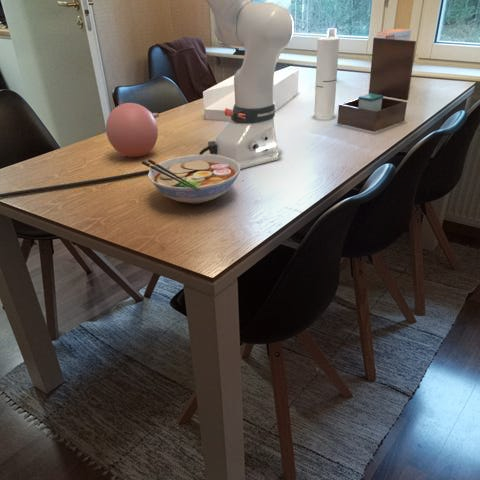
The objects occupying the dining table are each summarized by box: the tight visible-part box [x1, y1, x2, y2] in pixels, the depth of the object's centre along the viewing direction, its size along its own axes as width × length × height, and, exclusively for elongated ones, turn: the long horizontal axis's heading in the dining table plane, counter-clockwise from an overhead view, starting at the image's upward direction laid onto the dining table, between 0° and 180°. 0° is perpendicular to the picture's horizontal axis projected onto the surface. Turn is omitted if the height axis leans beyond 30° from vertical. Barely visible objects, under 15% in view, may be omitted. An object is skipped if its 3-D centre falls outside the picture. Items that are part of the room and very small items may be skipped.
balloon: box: [105, 102, 160, 158], centre depth 149 cm, size 15×20×15 cm
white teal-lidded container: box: [358, 92, 384, 111], centre depth 164 cm, size 6×5×8 cm
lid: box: [368, 37, 417, 102], centre depth 163 cm, size 17×16×5 cm
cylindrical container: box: [313, 36, 340, 119], centre depth 169 cm, size 7×7×25 cm
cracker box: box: [375, 27, 412, 41], centre depth 204 cm, size 14×6×21 cm, turn 121°
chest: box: [337, 97, 408, 133], centre depth 165 cm, size 17×16×7 cm
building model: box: [202, 69, 299, 122], centre depth 192 cm, size 45×22×10 cm, turn 157°
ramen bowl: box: [141, 153, 241, 205], centre depth 121 cm, size 25×23×8 cm
